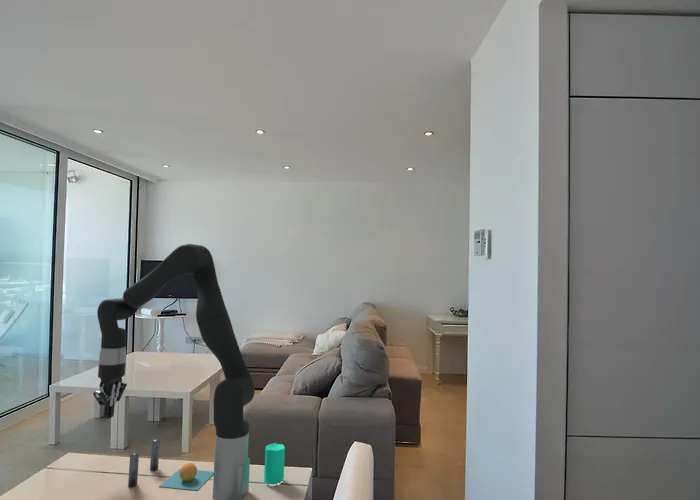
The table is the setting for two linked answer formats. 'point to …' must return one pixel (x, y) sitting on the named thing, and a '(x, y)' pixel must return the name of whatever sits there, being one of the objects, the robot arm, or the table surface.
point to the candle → (274, 463)
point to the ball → (188, 472)
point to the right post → (154, 454)
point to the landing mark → (187, 485)
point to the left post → (133, 469)
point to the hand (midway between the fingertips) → (108, 417)
